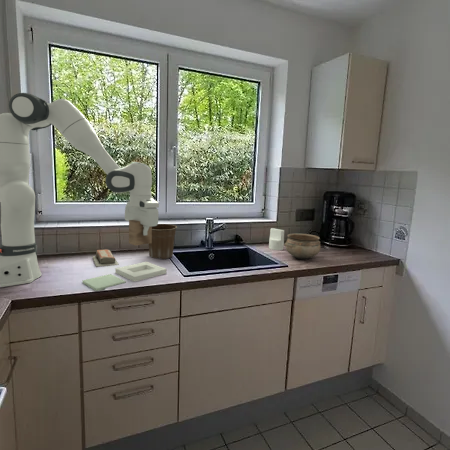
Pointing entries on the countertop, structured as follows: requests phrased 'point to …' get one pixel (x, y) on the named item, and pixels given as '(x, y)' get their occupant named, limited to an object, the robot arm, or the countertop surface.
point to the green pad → (103, 282)
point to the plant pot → (162, 241)
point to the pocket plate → (140, 271)
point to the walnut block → (138, 233)
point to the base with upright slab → (276, 239)
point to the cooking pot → (302, 245)
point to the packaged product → (104, 258)
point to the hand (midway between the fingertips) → (140, 233)
